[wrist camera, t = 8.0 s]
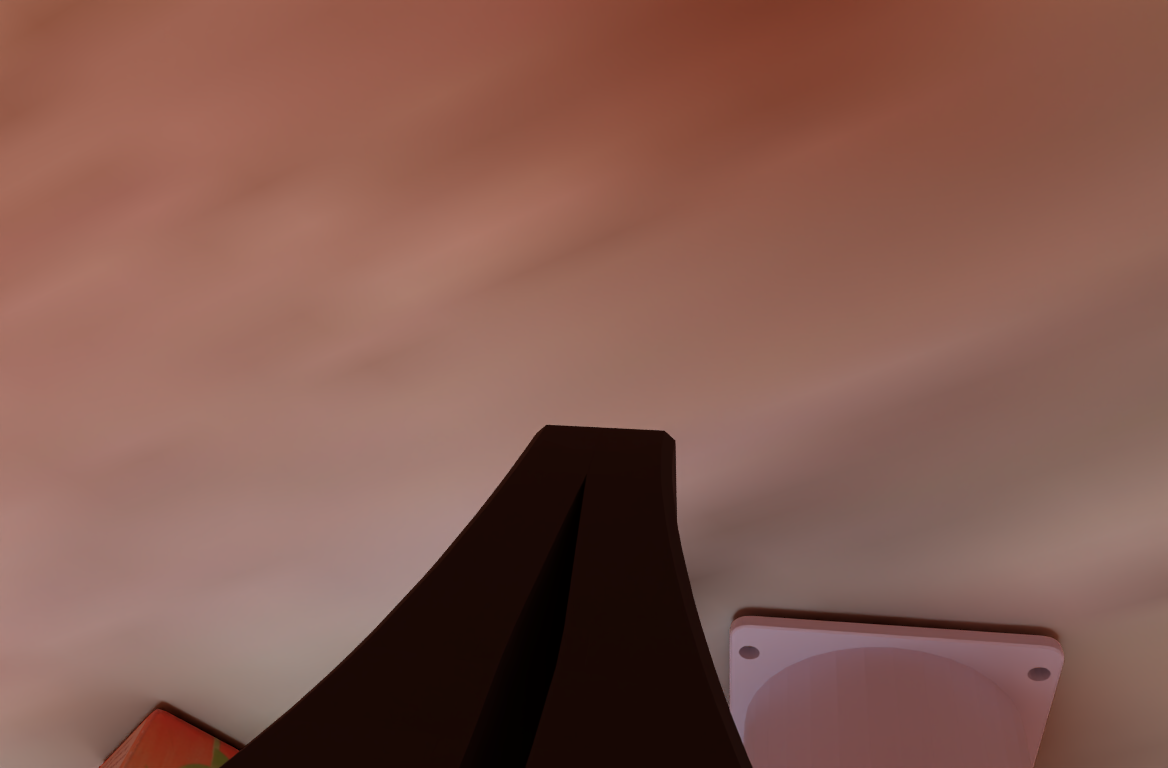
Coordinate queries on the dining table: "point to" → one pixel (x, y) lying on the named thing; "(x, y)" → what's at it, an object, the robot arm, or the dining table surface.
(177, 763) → the cracker box
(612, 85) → the dining table surface
